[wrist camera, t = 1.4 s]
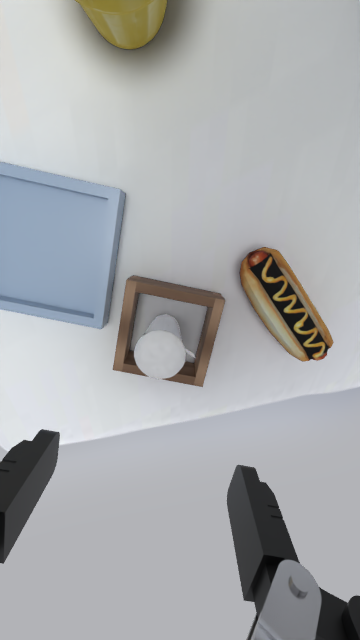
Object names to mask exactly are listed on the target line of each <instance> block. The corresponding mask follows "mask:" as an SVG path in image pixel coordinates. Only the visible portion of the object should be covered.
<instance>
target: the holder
mask: <svg viewBox="0 0 360 640" xmlns="http://www.w3.org/2000/svg"><path fill="white" fill-rule="evenodd" d="M139 293H144V294H149V295H154V296H159V297H163V298H168V299H173V300H178V301H183V302H188V303H192V304H197V305H202V306H207V307H208V309H207V313H206V317H205V321H204V325H203V329H202V333H201V337H200V341H199V345H198V349H197V353H196V358H195V362H194V363H191V362H185V363H184V365H183V367H182V368H181V369H180V370H179V372H178V373H177V374H176V375H174V376H172V377H170V378H165V379H163V380H169V381H174V382H179V383H185V384H190V385H195V386H200V387H203V383H204V379H205V375H206V372H207V368H208V364H209V360H210V356H211V353H212V349H213V345H214V341H215V338H216V334H217V330H218V326H219V322H220V319H221V315H222V311H223V307H224V304H225V299H224V298H223V297H222V295H221V294H219V293H215V292H210V291H205V290H200V289H196V288H191V287H186V286H181V285H177V284H172V283H167V282H162V281H158V280H153V279H148V278H143V277H138V276H134V275H133V276H131V277H130V278H128V279H127V280H126V287H125V293H124V300H123V306H122V313H121V320H120V326H119V333H118V339H117V346H116V352H115V359H114V365H113V370H116V371H121V372H126V373H132V374H137V375H142V376H147V375H146V374H144V373H143V372H142V371H141V370H140V369H139V368H138V366H137V364H136V362H135V358H134V351H129V350H130V344H131V338H132V332H133V326H134V320H135V314H136V308H137V302H138V296H139ZM148 377H149V376H148Z"/></svg>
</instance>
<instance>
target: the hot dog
mask: <svg viewBox="0 0 360 640" xmlns="http://www.w3.org/2000/svg"><path fill="white" fill-rule="evenodd" d="M240 277H241V284H242V286H243V288H244V290H245V292H246V294H247V296H248V298H249V300H250V302H251V304H252V306H253V308H254V309H255V311H256V312H257V314H258V315H259V317H260V318H261V320H262V321H263V323H264V324H265V326H266V327H267V329H268V330H269V331H270V333H271V334H272V335H273V336H274V337H275V338H276V339H277V340H278V342H279V343H280V344H281V345H282V346H283V347H284V348H285V349H286V351H287V352H288V353H289V354H291V355H292V356H294V357H295V358H297V359H299V360H301V361H309V360H310V359H313V360H317V361H318V360H321V359H323V358H324V357H325V356H326V355H327V350H328V349H329V348H331V346H332V344H333V340H332V337H331V335H330V333H329V331H328V329H327V327H326V325H325V324H324V322H323V320H322V319H321V317H320V315H319V314H318V312H317V310H316V309H315V307H314V305H313V304H312V302H311V300H310V299H309V297H308V295H307V294H306V292H305V291H304V289H303V287H302V286H301V284H300V282H299V281H298V279H297V278H296V276H295V274H294V273H293V271H292V270H291V268H290V266H289V265H288V263H287V262H286V261H285V259H284V258H283V256H282V255H281V254H280V252H279V251H277V250H275V249H270V248H266V247H263V248H260V249H258V250H255V251H253V252H250V253H249V254H248V255H247V257H246V258H245V259H244V260H243V261H242V263H241V269H240Z"/></svg>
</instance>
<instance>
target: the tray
mask: <svg viewBox="0 0 360 640" xmlns="http://www.w3.org/2000/svg"><path fill="white" fill-rule="evenodd" d="M125 195H126V194H125V193H124V192H123V191H122V190H121V189H117V188H112V187H108V186H104V185H99V184H95V183H91V182H86V181H82V180H77V179H73V178H69V177H64V176H60V175H55V174H51V173H47V172H42V171H38V170H33V169H29V168H25V167H20V166H16V165H12V164H7V163H3V162H0V309H2V310H7V311H12V312H17V313H22V314H27V315H32V316H37V317H42V318H47V319H53V320H58V321H63V322H68V323H73V324H78V325H83V326H88V327H93V328H98V329H102V328H103V327H104V326H105V325H106V324H107V323H108V317H109V310H110V303H111V296H112V289H113V281H114V274H115V267H116V260H117V253H118V245H119V238H120V231H121V224H122V217H123V209H124V202H125Z"/></svg>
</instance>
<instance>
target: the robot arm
mask: <svg viewBox="0 0 360 640" xmlns="http://www.w3.org/2000/svg"><path fill="white" fill-rule="evenodd" d="M59 438H60V433H59V432H54V431H49V430H43V429H42V430H40V431H39V432H38V434H37V435H36V436H35V438H34V439H33V440H32V441H27V440H23V441H22V442H20V443H19V444H17V445H16V446H14V447H13V448H11V450H10V451H9V452H8V453H7V455H6V456H5V457H4V458H3V460H2V461H1V462H0V563H4V562H5V560H6V558H7V556H8V555H9V553H10V551H11V549H12V547H13V546H14V544H15V542H16V540H17V538H18V536H19V535H20V533H21V531H22V529H23V527H24V525H25V524H26V522H27V520H28V518H29V516H30V514H31V513H32V511H33V509H34V507H35V506H36V504H37V502H38V500H39V498H40V497H41V495H42V493H43V491H44V489H45V487H46V485H47V484H48V482H49V480H50V478H51V476H52V474H53V472H54V470H55V467H56V463H57V456H58V448H59ZM227 506H228V512H229V518H230V524H231V529H232V535H233V541H234V547H235V552H236V558H237V564H238V569H239V575H240V581H241V586H242V592H243V598H244V600H245V601H252V602H255V607H256V612H257V613H256V615H255V618H254V621H253V623H252V626H251V629H250V631H249V634H248V637H247V639H246V640H360V596H353V597H352V598H351V599H350V600H349V602H348V603H347V602H345V601H343V600H341V599H339V598H337V597H335V596H334V595H332V594H330V593H328V592H326V591H324V590H323V589H321V588H320V587H318V584H317V583H316V581H315V579H314V577H313V576H312V575H311V574H310V572H309V571H308V570H307V569H305V567H304V566H302V565H301V564H300V562H299V561H298V557H297V555H296V552H295V549H294V547H293V544H292V541H291V538H290V536H289V533H288V531H287V528H286V525H285V523H284V520H283V517H282V514H281V511H280V509H279V506H278V503H277V501H276V498H275V495H274V493H273V492H272V491H271V489H270V488H269V486H268V485H267V484H266V483H264V482H260V480H259V478H258V474H257V472H256V469H255V468H254V467H248V466H243V465H237V467H236V469H235V472H234V475H233V478H232V480H231V483H230V486H229V489H228V494H227Z"/></svg>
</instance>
